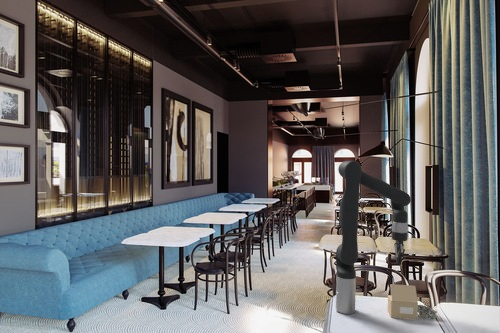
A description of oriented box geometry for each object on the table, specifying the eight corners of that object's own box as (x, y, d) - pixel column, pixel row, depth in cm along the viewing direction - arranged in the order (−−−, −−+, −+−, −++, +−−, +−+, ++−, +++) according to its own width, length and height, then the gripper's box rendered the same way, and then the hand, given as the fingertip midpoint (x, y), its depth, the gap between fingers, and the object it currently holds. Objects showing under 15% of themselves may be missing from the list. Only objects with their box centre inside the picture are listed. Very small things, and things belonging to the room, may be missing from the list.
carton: (391, 317, 178) (391, 301, 178) (387, 310, 187) (387, 294, 186) (417, 319, 176) (417, 303, 176) (412, 312, 185) (412, 296, 184)
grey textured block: (437, 320, 176) (438, 312, 176) (421, 319, 177) (421, 311, 177) (430, 311, 187) (430, 303, 187) (414, 310, 188) (415, 302, 188)
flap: (391, 301, 178) (392, 300, 178) (390, 284, 182) (390, 284, 182) (417, 303, 176) (417, 302, 176) (415, 286, 180) (415, 285, 180)
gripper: (389, 228, 196) (388, 260, 197) (394, 232, 183) (394, 267, 184) (404, 228, 195) (403, 261, 196) (410, 233, 182) (410, 268, 182)
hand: (398, 264), depth 190 cm, fingers closed
